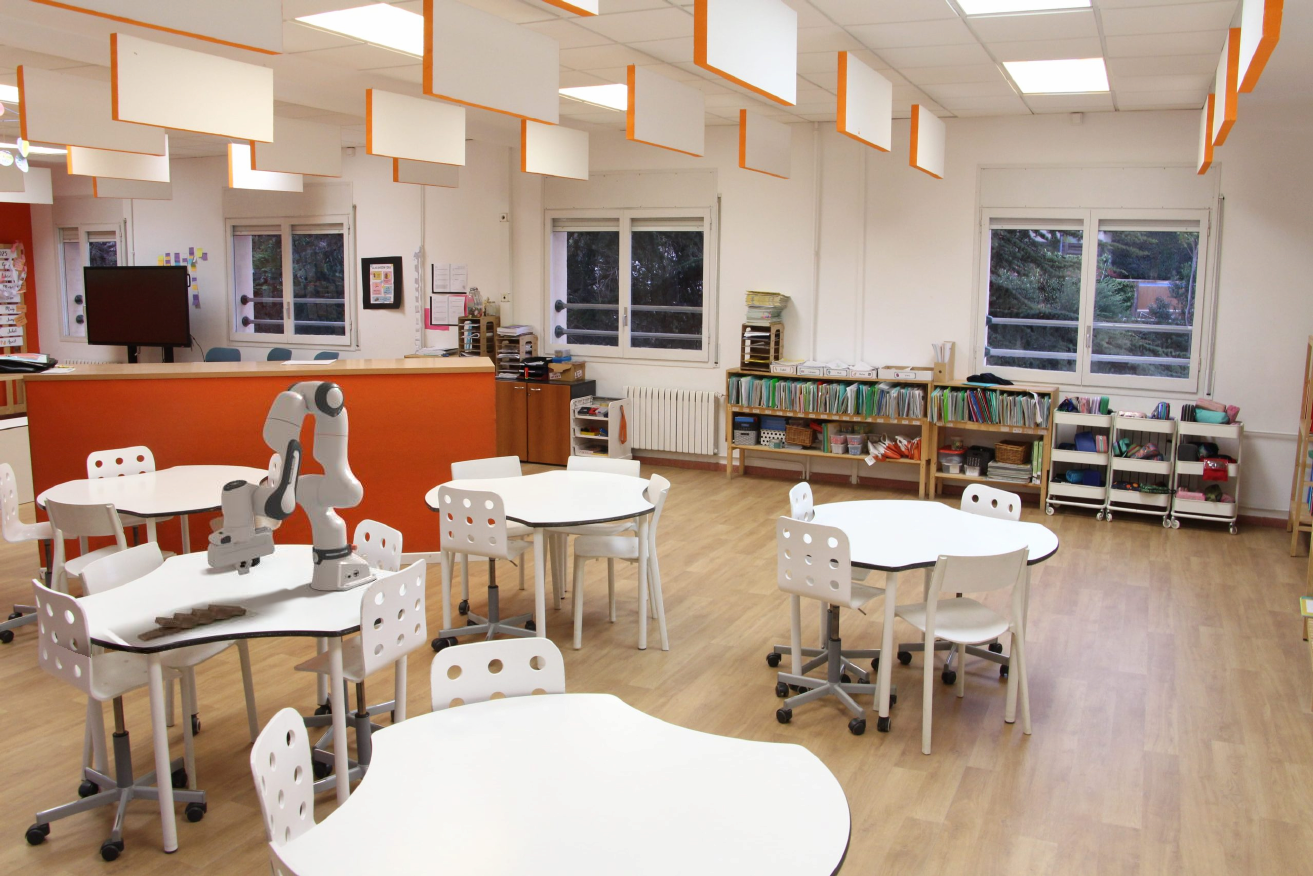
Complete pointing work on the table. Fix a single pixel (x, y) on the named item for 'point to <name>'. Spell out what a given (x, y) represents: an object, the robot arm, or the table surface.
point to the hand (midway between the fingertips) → (244, 573)
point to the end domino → (158, 633)
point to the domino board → (218, 621)
